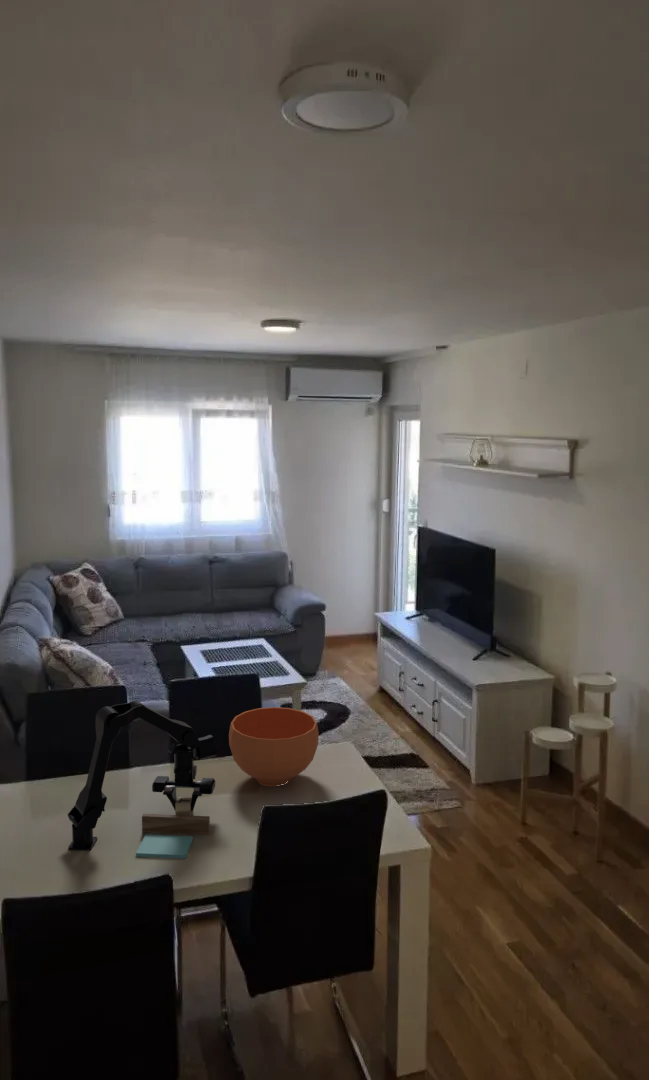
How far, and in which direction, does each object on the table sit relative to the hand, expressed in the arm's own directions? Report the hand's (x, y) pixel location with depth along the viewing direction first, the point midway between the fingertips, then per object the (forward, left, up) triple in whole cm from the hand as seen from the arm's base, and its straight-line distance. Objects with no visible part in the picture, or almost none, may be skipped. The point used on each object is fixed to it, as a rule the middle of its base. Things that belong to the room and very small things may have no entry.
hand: (184, 810), depth 245 cm
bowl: (+26, -25, -1) cm, 36 cm away
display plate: (-20, +1, -1) cm, 20 cm away
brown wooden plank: (-11, 0, -1) cm, 11 cm away
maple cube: (0, 0, -1) cm, 1 cm away
